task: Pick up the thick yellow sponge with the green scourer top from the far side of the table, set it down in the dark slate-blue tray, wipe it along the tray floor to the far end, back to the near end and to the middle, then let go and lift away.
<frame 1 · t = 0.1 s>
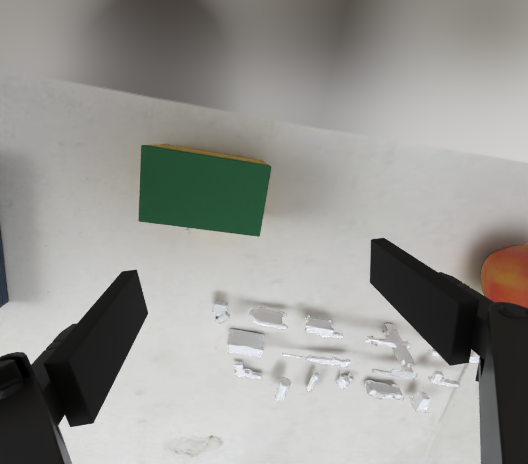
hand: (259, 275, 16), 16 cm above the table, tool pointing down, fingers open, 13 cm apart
apple: (493, 265, 36), on the table
sponge: (211, 182, 29), on the table
miniature set: (335, 352, 38), on the table
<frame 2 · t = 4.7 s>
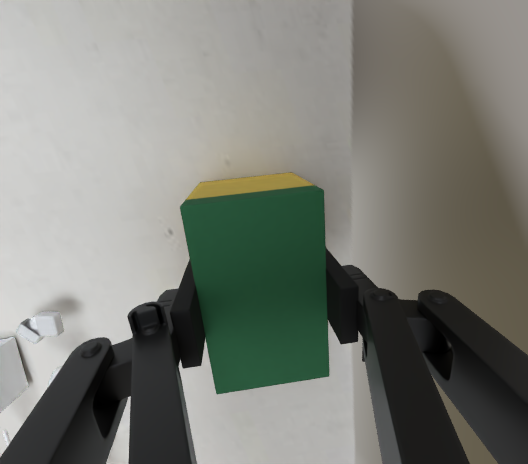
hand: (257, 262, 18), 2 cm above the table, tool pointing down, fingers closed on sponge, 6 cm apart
sponge: (254, 248, 20), on the table, touching gripper
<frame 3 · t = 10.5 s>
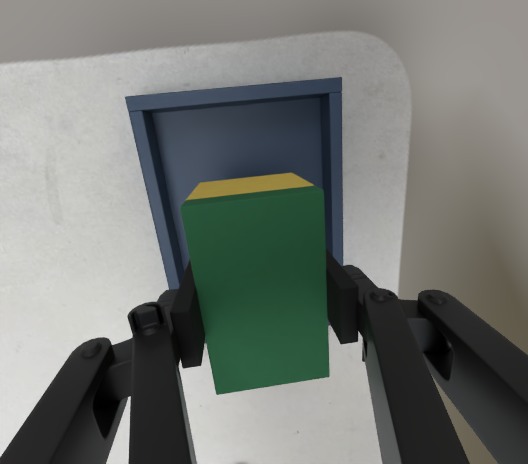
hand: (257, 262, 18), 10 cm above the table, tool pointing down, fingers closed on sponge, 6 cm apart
tray: (250, 218, 27), on the table
sponge: (254, 249, 20), point 8 cm above the table, touching gripper
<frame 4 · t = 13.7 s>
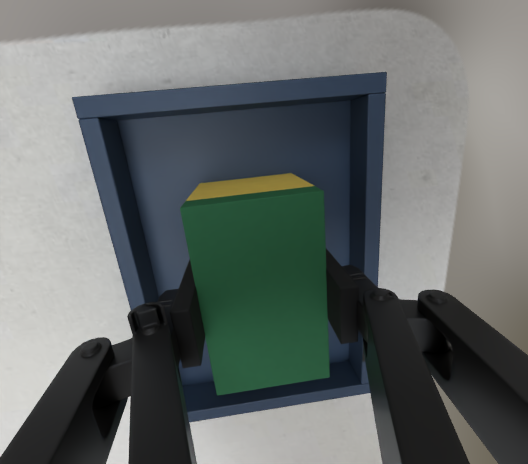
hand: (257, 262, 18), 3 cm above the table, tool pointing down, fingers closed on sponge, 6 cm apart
tray: (253, 257, 21), on the table
sponge: (254, 249, 20), point 1 cm above the table, touching gripper
when the fingers open (3 cm above the table, at t = 16.1 s): sponge stays where it is, resting on tray.
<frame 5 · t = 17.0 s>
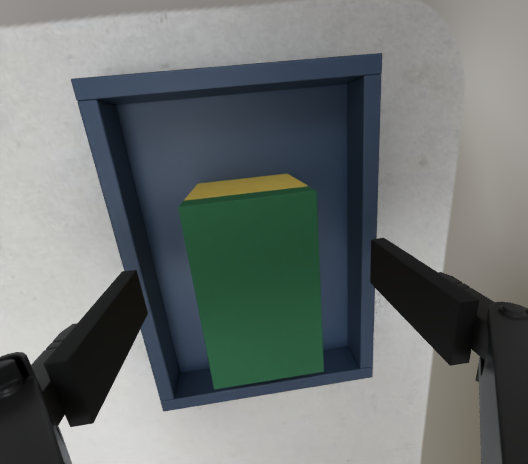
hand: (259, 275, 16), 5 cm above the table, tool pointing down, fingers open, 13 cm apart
tray: (251, 243, 21), on the table
sponge: (251, 248, 20), point 1 cm above the table, touching tray
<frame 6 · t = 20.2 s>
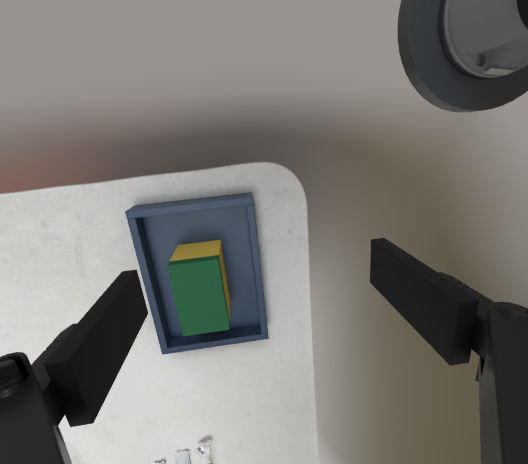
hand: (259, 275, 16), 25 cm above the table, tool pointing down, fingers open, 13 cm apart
tray: (206, 271, 42), on the table
sponge: (205, 274, 41), point 1 cm above the table, touching tray
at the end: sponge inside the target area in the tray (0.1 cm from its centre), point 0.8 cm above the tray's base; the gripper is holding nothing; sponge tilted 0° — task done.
